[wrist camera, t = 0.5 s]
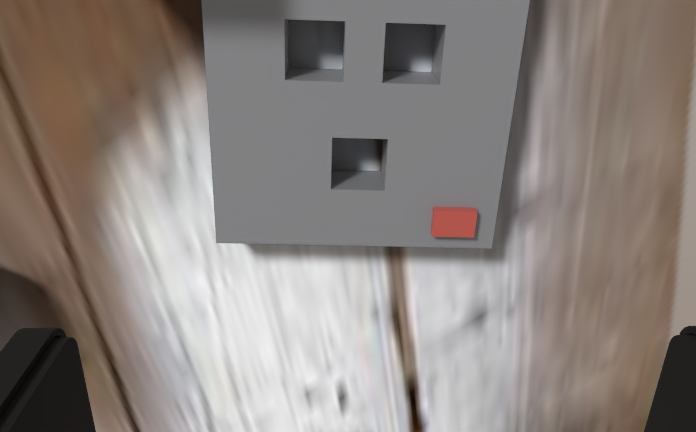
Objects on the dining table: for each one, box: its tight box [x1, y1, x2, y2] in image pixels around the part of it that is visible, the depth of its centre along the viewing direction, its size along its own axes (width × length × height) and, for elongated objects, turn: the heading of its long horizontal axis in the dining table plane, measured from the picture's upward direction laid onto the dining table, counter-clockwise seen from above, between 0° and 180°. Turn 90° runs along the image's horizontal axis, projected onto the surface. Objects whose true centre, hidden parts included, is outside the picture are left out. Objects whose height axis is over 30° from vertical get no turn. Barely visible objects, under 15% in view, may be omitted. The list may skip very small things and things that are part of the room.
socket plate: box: [201, 0, 530, 248], centre depth 33 cm, size 16×16×4 cm
